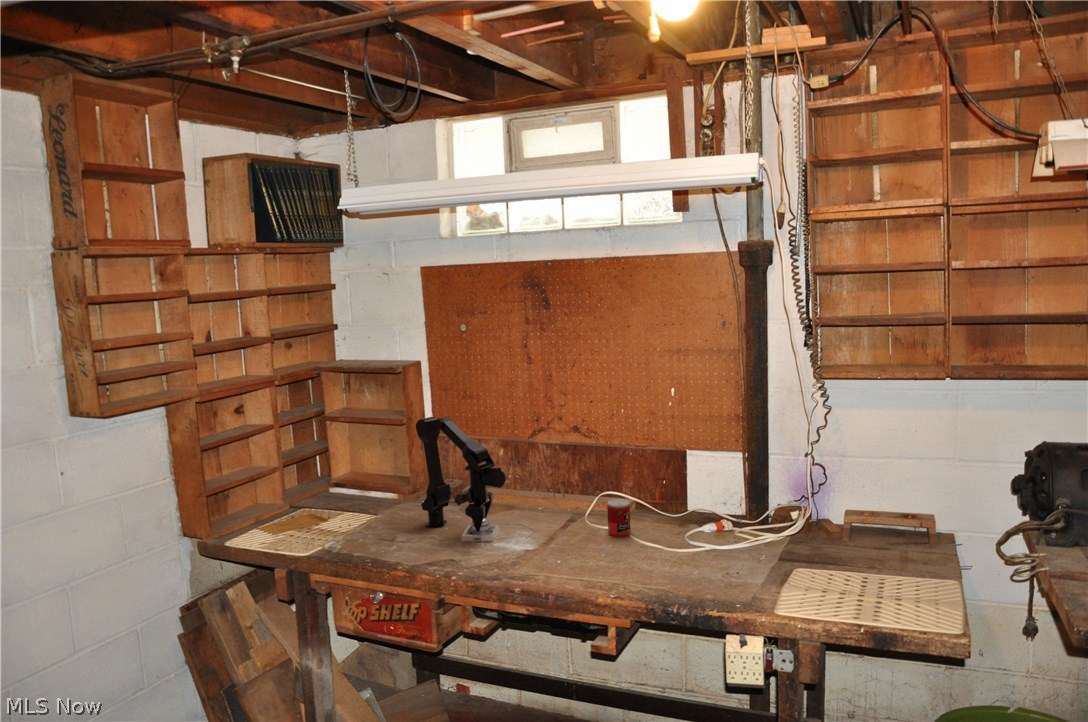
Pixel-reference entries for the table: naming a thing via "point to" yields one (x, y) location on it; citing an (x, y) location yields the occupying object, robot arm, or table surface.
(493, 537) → the grey square frame
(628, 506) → the canned food
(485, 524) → the piston
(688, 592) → the table surface
